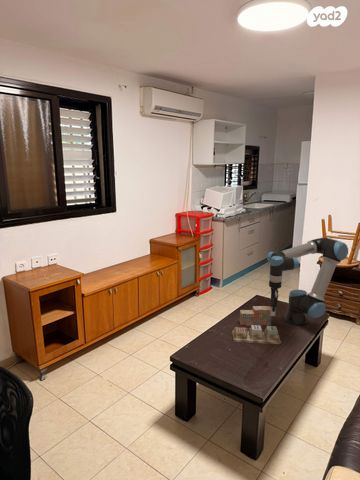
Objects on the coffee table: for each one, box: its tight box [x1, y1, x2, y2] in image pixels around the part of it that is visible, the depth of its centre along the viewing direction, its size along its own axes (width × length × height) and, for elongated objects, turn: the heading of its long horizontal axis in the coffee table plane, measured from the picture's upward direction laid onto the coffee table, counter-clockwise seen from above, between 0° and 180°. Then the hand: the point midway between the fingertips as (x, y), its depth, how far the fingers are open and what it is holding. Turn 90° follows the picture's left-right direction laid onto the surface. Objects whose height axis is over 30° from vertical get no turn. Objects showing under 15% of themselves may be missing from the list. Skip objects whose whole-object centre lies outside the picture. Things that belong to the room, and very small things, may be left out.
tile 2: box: [250, 325, 263, 334], centre depth 214 cm, size 6×6×4 cm
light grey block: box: [265, 325, 279, 335], centre depth 213 cm, size 6×6×4 cm
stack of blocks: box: [239, 305, 273, 327], centre depth 233 cm, size 21×6×12 cm, turn 90°
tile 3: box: [236, 327, 246, 333], centre depth 215 cm, size 6×6×4 cm
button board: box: [231, 326, 282, 345], centre depth 214 cm, size 30×12×5 cm, turn 84°
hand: (272, 315), depth 210 cm, fingers closed
